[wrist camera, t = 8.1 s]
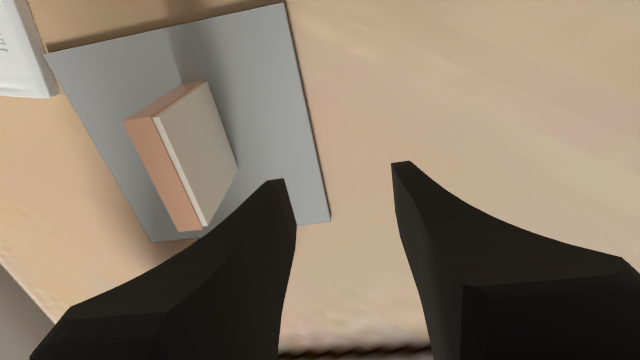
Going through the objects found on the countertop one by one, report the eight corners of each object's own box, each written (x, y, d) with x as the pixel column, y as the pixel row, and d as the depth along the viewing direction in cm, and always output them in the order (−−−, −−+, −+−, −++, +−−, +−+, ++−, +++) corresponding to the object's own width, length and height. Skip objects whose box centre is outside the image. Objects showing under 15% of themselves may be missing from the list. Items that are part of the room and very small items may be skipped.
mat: (330, 218, 24) (330, 222, 23) (154, 239, 26) (151, 242, 25) (284, 1, 17) (283, 2, 17) (47, 53, 19) (42, 54, 19)
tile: (239, 170, 22) (207, 228, 17) (216, 173, 22) (178, 232, 17) (207, 79, 19) (156, 115, 14) (181, 84, 19) (121, 121, 14)
